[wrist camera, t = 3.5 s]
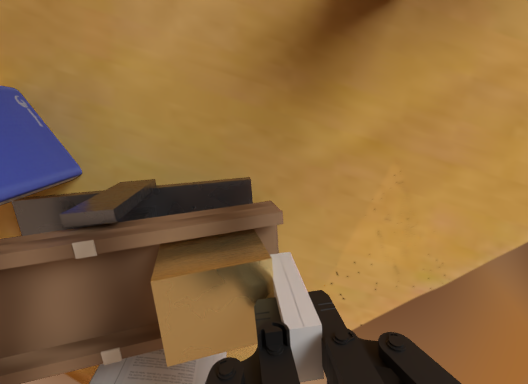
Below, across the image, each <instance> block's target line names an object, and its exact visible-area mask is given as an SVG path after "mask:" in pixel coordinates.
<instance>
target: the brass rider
mask: <svg viewBox="0 0 528 384" xmlns="http://www.w3.org/2000/svg"><path fill="white" fill-rule="evenodd" d="M151 286H152V292H153V297H154V302H155V307H156V312H157V317H158V322H159V327H160V332H161V338H162V343H163V348H164V353H165V358H166V363H167V367H169V366H173V365H177V364H181V363H184V362H188V361H192V360H196V359H200V358H204V357H208V356H211V355H215V354H219V353H223V352H227V351H231V350H235V349H238V348H242V347H246V346H250V345H254V344H258V341H257V332H256V322H255V312H254V305H255V303H256V301H257V300H258V299H265V298H273V297H274V287H273V266H272V258H271V256H270V254H269V253H268V251H267V249H266V248H265V246H264V245H263V243H262V241H261V240H260V238H259V236H258V235H257V233H256V232H255V230H254V229H248V230H242V231H236V232H230V233H223V234H217V235H211V236H205V237H199V238H193V239H186V240H180V241H174V242H168V243H162V244H160V247H159V251H158V255H157V258H156V262H155V266H154V270H153V274H152V278H151Z"/></svg>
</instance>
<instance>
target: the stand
mask: <svg viewBox="0 0 528 384" xmlns="http://www.w3.org/2000/svg"><path fill="white" fill-rule="evenodd" d="M252 203H253V202H252V190H251V179H250V177H247V178H236V179H225V180H214V181H203V182H192V183H181V184H170V185H159V186H156V182H155V179H152V180H141V181H130V182H120V183H118V184H116V185H114V186H113V187H111V188H109V189H107V190H104V191H93V192H82V193H71V194H60V195H49V196H38V197H27V198H20V199H17V200H14V201H12V204H13V208H14V211H15V214H16V217H17V221H18V224H19V227H20V230H21V234H22V236H25V235H32V234H40V233H47V232H54V231H61V230H68V229H75V228H82V227H89V226H95V225H99V224H111V223H118V222H125V221H132V220H139V219H146V218H153V217H160V216H167V215H174V214H181V213H188V212H195V211H203V210H210V209H217V208H224V207H231V206H238V205H245V204H252Z"/></svg>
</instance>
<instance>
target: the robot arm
mask: <svg viewBox="0 0 528 384" xmlns="http://www.w3.org/2000/svg"><path fill="white" fill-rule="evenodd" d="M270 256H271V258H272V266H273V287H274V297H273V298H265V299H258V300H257V301H256V303H255V305H254V312H255V322H256V332H257V341H258V347H257V349H256V351H255V353H254V354H253V355H252V356H251V357H249V358H248V359H246V360H244V361H242V362H240V361H239V360H238V359H236V358H231V357H229V358H223V359H221V360H219V361H217V362H216V363H215V364H214V365H213V366H212V368H211V369H210V371H209V374H208V377H207V379H206V382H205V384H300V382H305V381H311V380H317V379H324V372H325V374H326V377H327V384H461V383H460V382H459V381H458V380H456V379H455V378H454V377H453V376H452V375H451V374H449V373H448V372H447V371H446V370H445V369H444V368H442V367H441V366H440V365H439V364H438V363H437V362H435V361H434V360H433V359H432V358H431V357H429V356H428V355H427V354H426V353H425V352H424V351H422V350H421V349H420V348H419V347H418V346H416V345H415V344H414V343H413V342H412V341H411V340H410V339H408V338H407V337H405V336H404V335H401V334H398V333H394V332H387V333H383V334H382V335H380V337H379V339H378V341H371V340H364V339H360V338H358V337H357V336H356V335H355V333H354V332H353V331H351V330H349V329H347V328H346V326H345V324H344V322H343V320H342V319H341V317H340V315H339V313H338V311H337V310H336V308H335V306H334V304H333V303H332V300H331V299H330V297H329V295H328V294H326V293H325V292H324V291H322V290H319V291H312V292H307V289H306V287H305V285H304V283H303V280H302V278H301V276H300V273H299V271H298V269H297V267H296V264H295V262H294V260H293V257H292V255H291V253H290V252H286V253H278V254H270ZM323 369H324V372H323Z"/></svg>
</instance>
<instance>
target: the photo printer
mask: <svg viewBox="0 0 528 384" xmlns="http://www.w3.org/2000/svg"><path fill="white" fill-rule="evenodd" d="M226 353H227V352H223V353H219V354H215V355H211V356H208V357H204V358H200V359H196V360H192V361H188V362H184V363H181V364H177V365H173V366H169V367H167V363H166V358H165V353H164V349H161V350H157V351H153V352H149V353H144V354H140V355H136V356H132V357H128V358H124V359H122V361H119V362H115V363H111V364H107V365H104V364H100V365H99V367H98V368H97V370H96V372H95V374H94V375H93V377H92V379H91V381H90V383H89V384H205V382H206V379H207V377H208V374H209V371H210V369H211V368H212V366H213V365H214V364H215V363H216V362H217V361H219V360H221V359H223V358H226Z"/></svg>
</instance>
